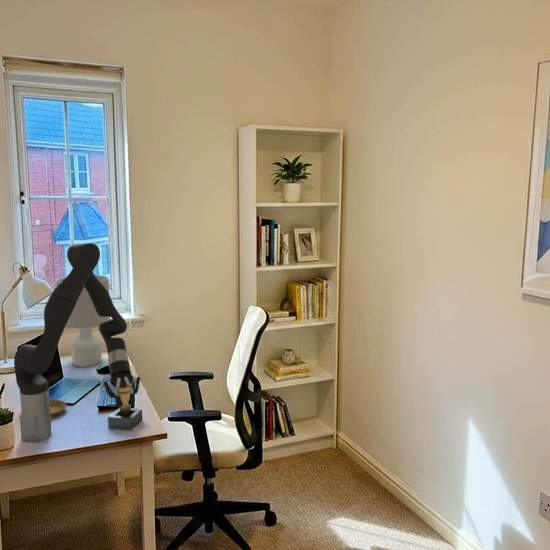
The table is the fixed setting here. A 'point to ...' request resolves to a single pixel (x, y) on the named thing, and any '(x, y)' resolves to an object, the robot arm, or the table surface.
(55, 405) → the plant saucer
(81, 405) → the table surface
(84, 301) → the lamp
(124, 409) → the brass flared peg
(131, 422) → the box
